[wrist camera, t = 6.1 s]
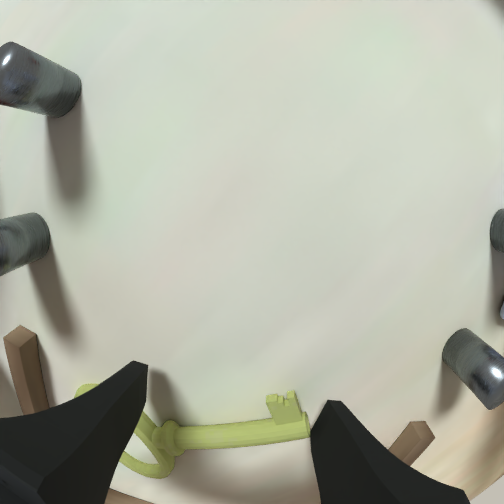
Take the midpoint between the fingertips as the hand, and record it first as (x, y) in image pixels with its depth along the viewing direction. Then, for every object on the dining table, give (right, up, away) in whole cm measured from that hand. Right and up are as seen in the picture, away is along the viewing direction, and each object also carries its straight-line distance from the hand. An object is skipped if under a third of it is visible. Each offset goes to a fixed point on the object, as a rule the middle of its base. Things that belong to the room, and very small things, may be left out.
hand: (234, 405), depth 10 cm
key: (-3, -3, +2) cm, 5 cm away
